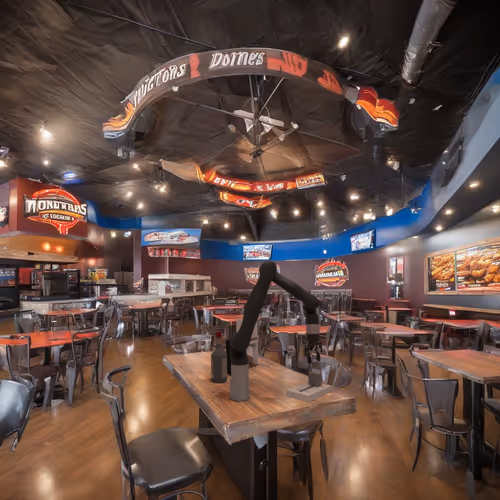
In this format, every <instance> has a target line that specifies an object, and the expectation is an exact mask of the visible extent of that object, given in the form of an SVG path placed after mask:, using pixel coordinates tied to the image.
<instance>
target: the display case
mask: <svg viewBox="0 0 500 500" xmlns="http://www.w3.org/2000/svg"><path fill="white" fill-rule="evenodd" d="M242 321H243V318H237V319H236V322H235V323H236V332H238V331H239V329H240V327H241V324H242ZM258 341H259V338H258V321H257V322H256V325H255V327H254V330H253V334H252V337H251V341H250V344H249V347H248V348H247V349H246V352H247V356H248V360H249V369H250V368H253V367H256V366H258V367H259V348H258V347H259V346H258V344H259V342H258Z"/></svg>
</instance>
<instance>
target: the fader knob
mask: <svg viewBox="0 0 500 500" xmlns="http://www.w3.org/2000/svg"><path fill="white" fill-rule="evenodd" d="M307 375H308V377H307V379H308V382H309V384H310V385H315V386H320V385H322V384H323V379H322V378H323V375H322V372H317V371H309V372H308V373H307Z"/></svg>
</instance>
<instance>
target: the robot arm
mask: <svg viewBox="0 0 500 500" xmlns="http://www.w3.org/2000/svg"><path fill="white" fill-rule="evenodd" d="M258 273H259V276H258V279H257V282H256V283H255V285H254V286H253V288H252V289H251V292H250V293H249V295H248V298H247V299H246V302H245V306H244V309H243V314H242V319H243V321H242V324H241V327H240V329H239V331H238V332H237V331H235V332H234V333H232V334H231V336H229V337H230V358H231V375H230V376H231V377H230V379H229V399H230V400H232V401H235V402H243V401H247V400H249V399H250V376H249V375H250V372H249V371H250V370H249V360H248V356H247V352H246V349H247V348H248V347H249V344H250V341H251V337H252V334H253V330H254V327H255V325H256V322H257V323H258V319H259V318H260V314H261V312H262V311H263V310H262V309H263V307H264V305H265V303H266V302H265V301H266V298H267V295H268V292H269V290H270V286H271V284H272V282H273V284H275V285H277V286H278V287H279V288H281V289H283V290H284V291H285V292H287V293H288V294H290V296H292V297H293V298H295V299H296V300H298V301H300V302H302V303H303V306H304V307H303V308H304V311H305V312H304V313H305V321H306V324H305V325H306V326H305V332H306V333H305V334H306V335H305V338H306V339H305V340H306V341H307V342H308V343H305V344H304V356H306V357H307V364H309V365H311V364H312V363H313V359H312V358H313V357H312V356H313V354H314V352H315V354H316V355H315V359H316V361H317V362H321V353H323V352H324V351H323V342H322V341H321V332H320V331H321V330H320V328H321V327H320V318H319V317H320V316H319V315H318V313H317V309H318V308H319V307H320V304H321V303H320V300H319V298H318V297H317V296H315V295H313V294H312V293H310V292H309V291H307V290H305V289H304V288H303V287H302V286H300V285H299V284H298V283H296V282H295V281H293V280H291V279H289V278H287V277H286V276H284V275H282V274H281V273H280V272H279V271H278V266H277V264H276V262H274V261H273V260H266V261H264V262H262V263H261V264H260V266H259V267H258Z"/></svg>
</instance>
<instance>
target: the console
mask: <svg viewBox="0 0 500 500" xmlns="http://www.w3.org/2000/svg"><path fill="white" fill-rule="evenodd" d="M332 392H333V389H332V385H331V384H325V383H322V385H320V386H315V385H310V384H309V381H306V382H304V383H301V384H299V385H296V386H292V387H290V388H288V389H286V391H285V394H286V397H288V398H293V399H295V400H299V401H302V402H303V401H304V402H305V403H310V402H313V401H315V400H316V399H319V398H321V397H323V396H325V395H328V394H330V393H332ZM312 400H313V401H312Z"/></svg>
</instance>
